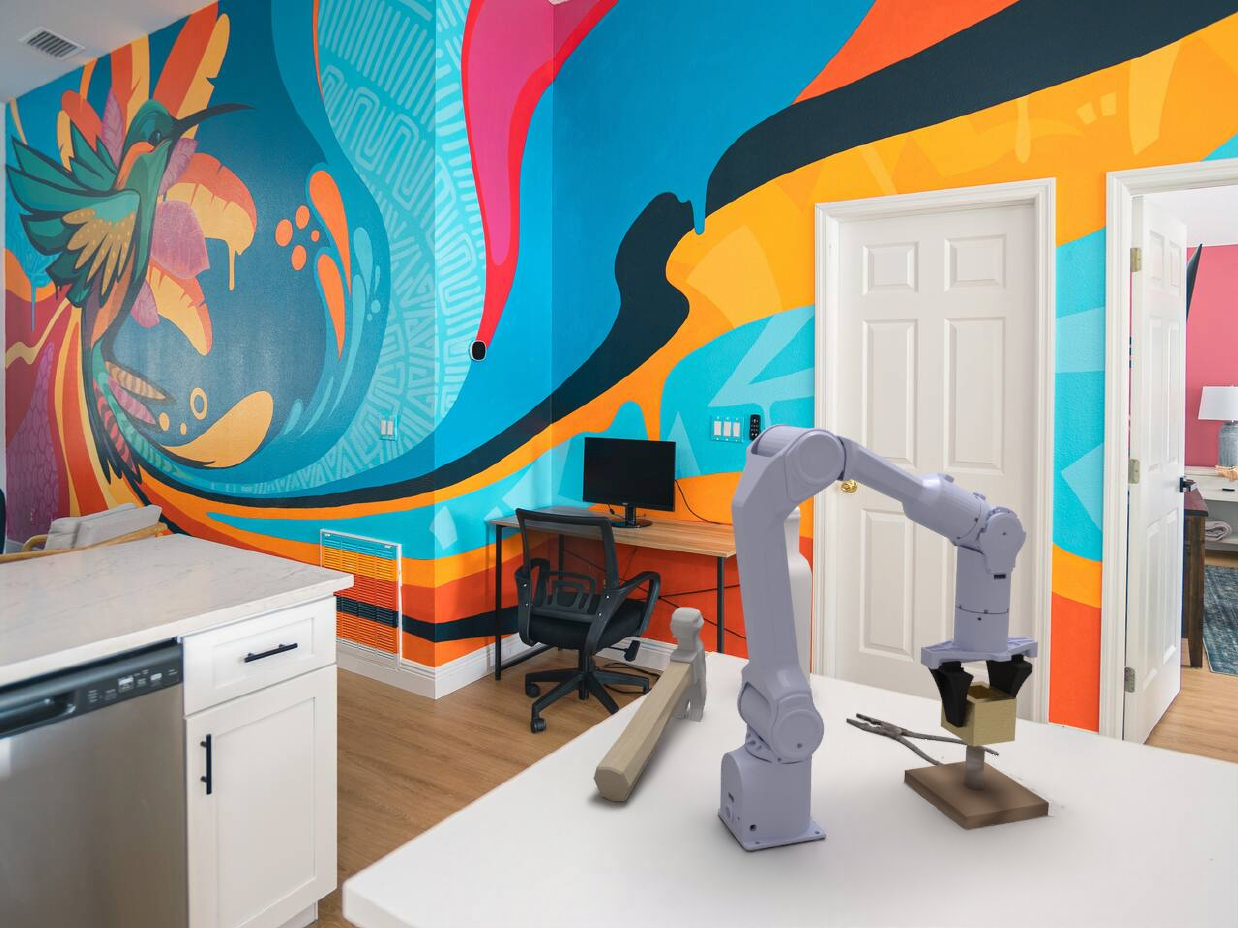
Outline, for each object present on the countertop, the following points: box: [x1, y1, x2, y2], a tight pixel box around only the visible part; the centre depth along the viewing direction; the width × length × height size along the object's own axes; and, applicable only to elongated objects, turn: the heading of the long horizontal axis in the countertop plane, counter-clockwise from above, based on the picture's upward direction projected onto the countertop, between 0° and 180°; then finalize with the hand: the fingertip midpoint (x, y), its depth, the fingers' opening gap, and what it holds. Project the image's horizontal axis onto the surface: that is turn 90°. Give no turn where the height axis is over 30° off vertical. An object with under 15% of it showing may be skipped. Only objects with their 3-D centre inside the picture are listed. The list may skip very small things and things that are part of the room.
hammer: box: [593, 607, 708, 802], centre depth 105 cm, size 16×5×30 cm
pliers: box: [845, 712, 1000, 766], centre depth 108 cm, size 10×1×20 cm
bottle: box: [784, 506, 813, 687], centre depth 123 cm, size 8×8×30 cm
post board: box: [903, 745, 1050, 831], centre depth 94 cm, size 11×11×6 cm
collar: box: [940, 680, 1018, 747], centre depth 93 cm, size 6×6×5 cm
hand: (976, 720), depth 93 cm, fingers closed on collar, 6 cm apart
